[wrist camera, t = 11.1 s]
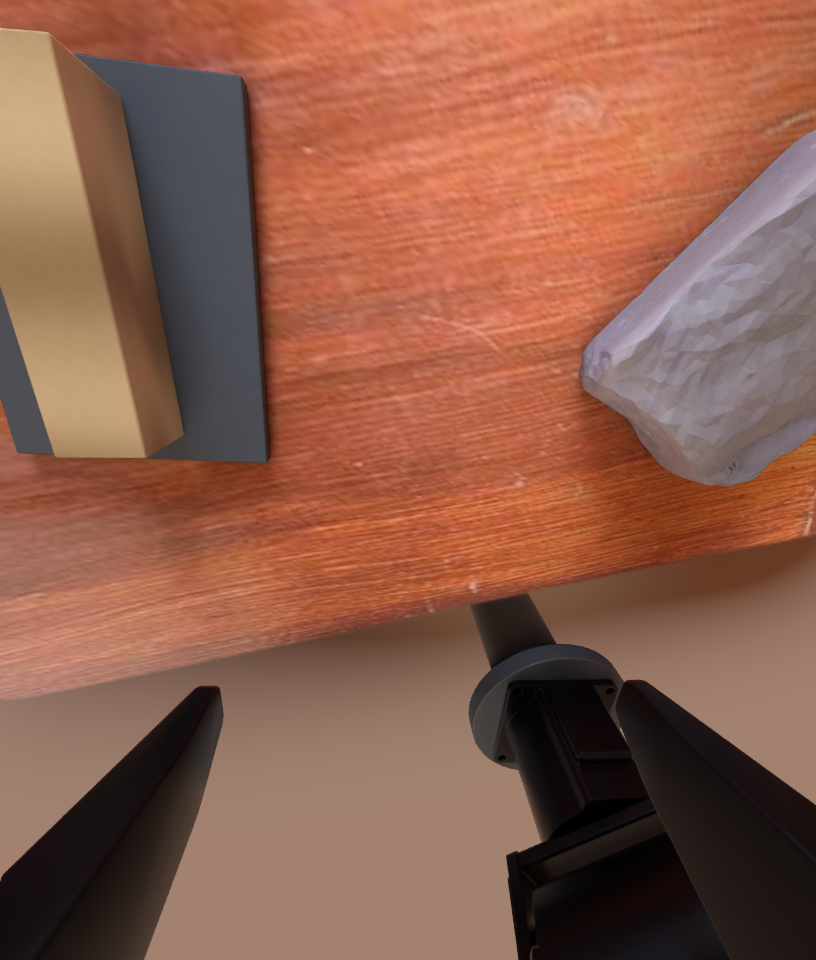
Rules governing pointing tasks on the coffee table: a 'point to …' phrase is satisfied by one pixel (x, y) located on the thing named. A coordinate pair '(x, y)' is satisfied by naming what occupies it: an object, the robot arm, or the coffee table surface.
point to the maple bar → (79, 257)
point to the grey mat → (184, 261)
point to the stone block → (724, 336)
